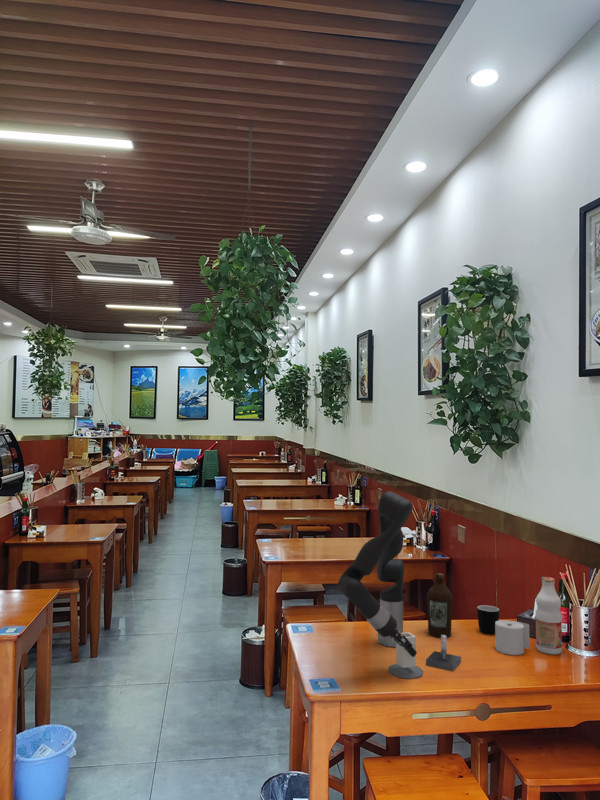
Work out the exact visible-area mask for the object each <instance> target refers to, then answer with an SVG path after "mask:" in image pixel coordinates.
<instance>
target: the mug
mask: <svg viewBox="0 0 600 800" xmlns="http://www.w3.org/2000/svg"><path fill="white" fill-rule="evenodd" d="M476 611H477V612H476V613H477V623H478V628H479V631H480V633H481V634H484V635H488V634H490V635H492V634H494V635H495V622H496V621H499V620H500V609H499V608H498V607H496V606H493V605H485V604H484V605H478V606H477V610H476ZM490 635H489V636H490ZM492 636H493V635H492Z"/></svg>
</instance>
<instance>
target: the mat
mask: <svg viewBox="0 0 600 800" xmlns="http://www.w3.org/2000/svg"><path fill="white" fill-rule="evenodd" d="M388 673H389V674H390V675H392V676H394V677H396V678H400V679H406V680H413V679H412V678H415V679H419V678H421V677H423V676H422V675H424V670H423V669H422V668H421V667H420V666H418V665H416V666H415V667H407V668H403V667H401V666H400V665H399V664H397V663H394V664H391V665H389V666H388ZM418 677H419V678H418Z"/></svg>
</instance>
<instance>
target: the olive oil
mask: <svg viewBox="0 0 600 800" xmlns="http://www.w3.org/2000/svg"><path fill="white" fill-rule="evenodd" d="M453 600H454V599H453V594H452V592H451V590H450V589H449V588H448V586H447V585H446V584H445V578H444V573H440V572H439V573H438V572H437V573H435V583H434V584H433V585H432V586H431V587H430V588H429V589H428V591H427V595H426V606H427V633H428V635H430V636H432V637H434V638H440V639H441V635H446V636H447V638H450V637H451V636H452V620H453V619H452V618H453V616H452V615H453Z"/></svg>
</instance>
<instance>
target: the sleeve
mask: <svg viewBox="0 0 600 800" xmlns="http://www.w3.org/2000/svg"><path fill="white" fill-rule="evenodd" d="M402 634H403V635H404V636H405V637H406V638H407V639H408V641H409V642H410V643H411V644H412V645H413V646H412V647H413V648H414V650H415V651H416V652H417V637H416V635H414V634H413V633H411V632H407V631H406V632H403V633H402ZM399 643H400V642H399ZM395 650H396V651H395V653H396V654H395V664H399V665H400V666H401V667H403V668H407V667H415V666H417V654H416V655H415V656H414V657H412V656H411V655H410V654H409V653H408V652H407V651H406V650H405V649H404V648H403V647H402V646H399V645H398V644H397V643H396V647H395Z"/></svg>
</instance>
